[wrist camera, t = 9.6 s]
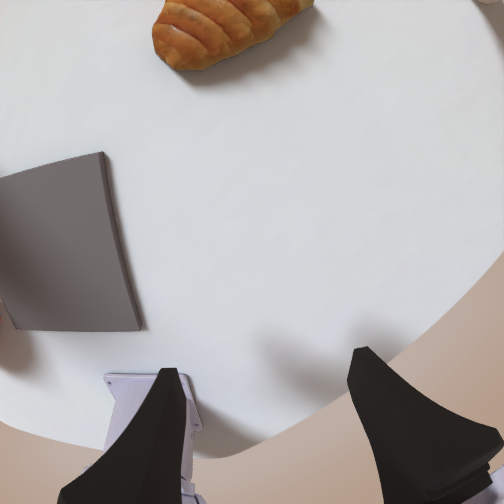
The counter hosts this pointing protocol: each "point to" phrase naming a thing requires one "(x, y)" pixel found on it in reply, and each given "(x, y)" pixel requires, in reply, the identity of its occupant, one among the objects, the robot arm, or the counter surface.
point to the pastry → (217, 28)
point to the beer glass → (487, 1)
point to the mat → (63, 250)
